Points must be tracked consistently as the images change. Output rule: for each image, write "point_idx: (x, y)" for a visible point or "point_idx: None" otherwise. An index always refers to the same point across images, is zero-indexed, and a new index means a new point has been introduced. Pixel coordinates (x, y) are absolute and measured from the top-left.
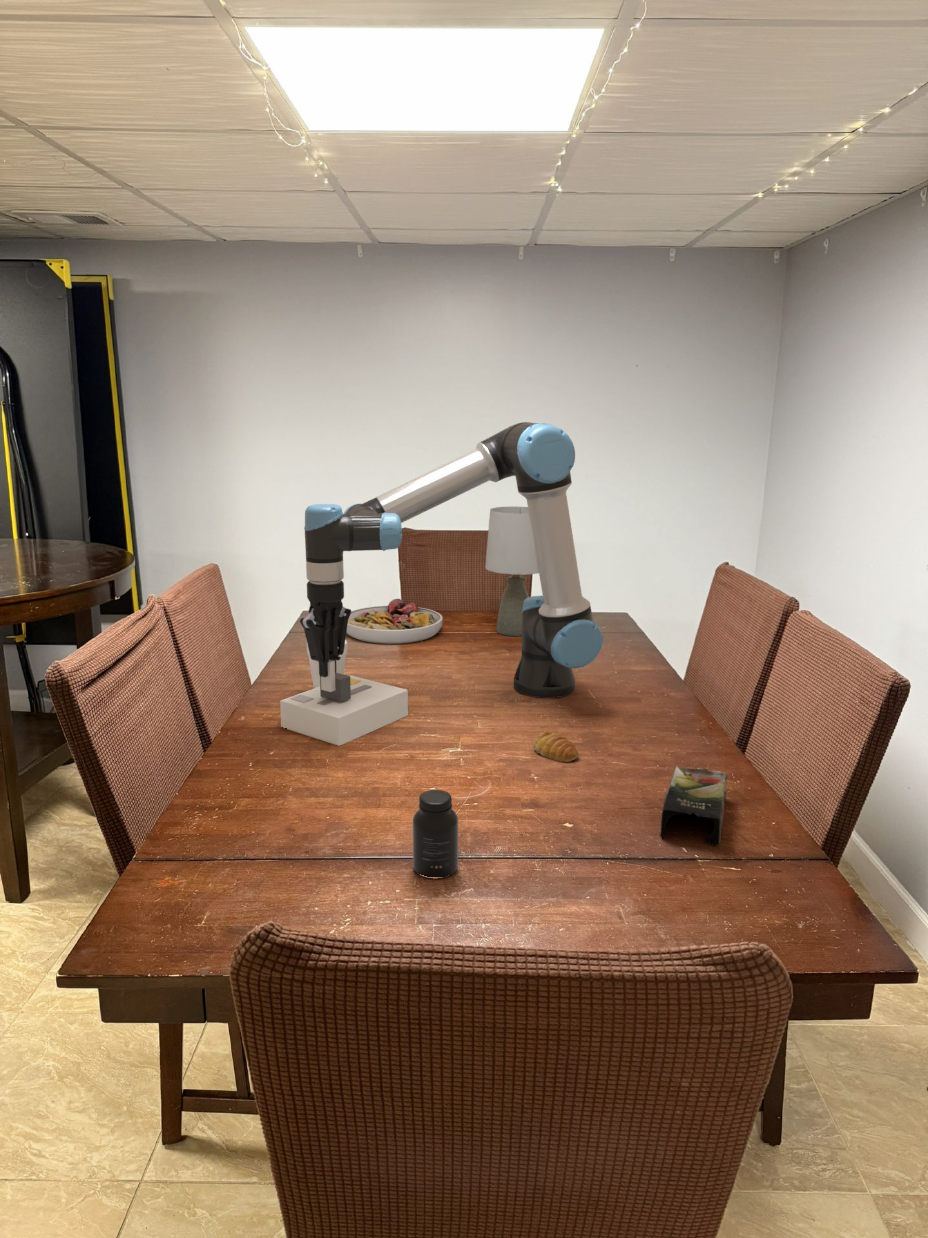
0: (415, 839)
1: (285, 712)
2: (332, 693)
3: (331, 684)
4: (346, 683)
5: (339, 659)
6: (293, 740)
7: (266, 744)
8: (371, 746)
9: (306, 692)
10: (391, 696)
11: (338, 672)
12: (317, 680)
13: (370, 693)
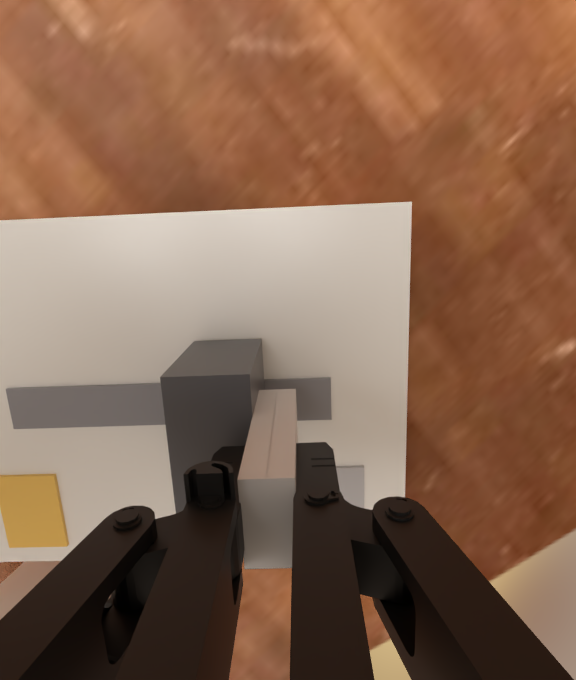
0: None
1: None
2: None
3: (285, 405)
4: (203, 365)
5: (201, 463)
6: (442, 373)
7: (520, 414)
8: (310, 106)
9: None
10: (20, 221)
11: (8, 611)
12: None
13: (69, 332)
